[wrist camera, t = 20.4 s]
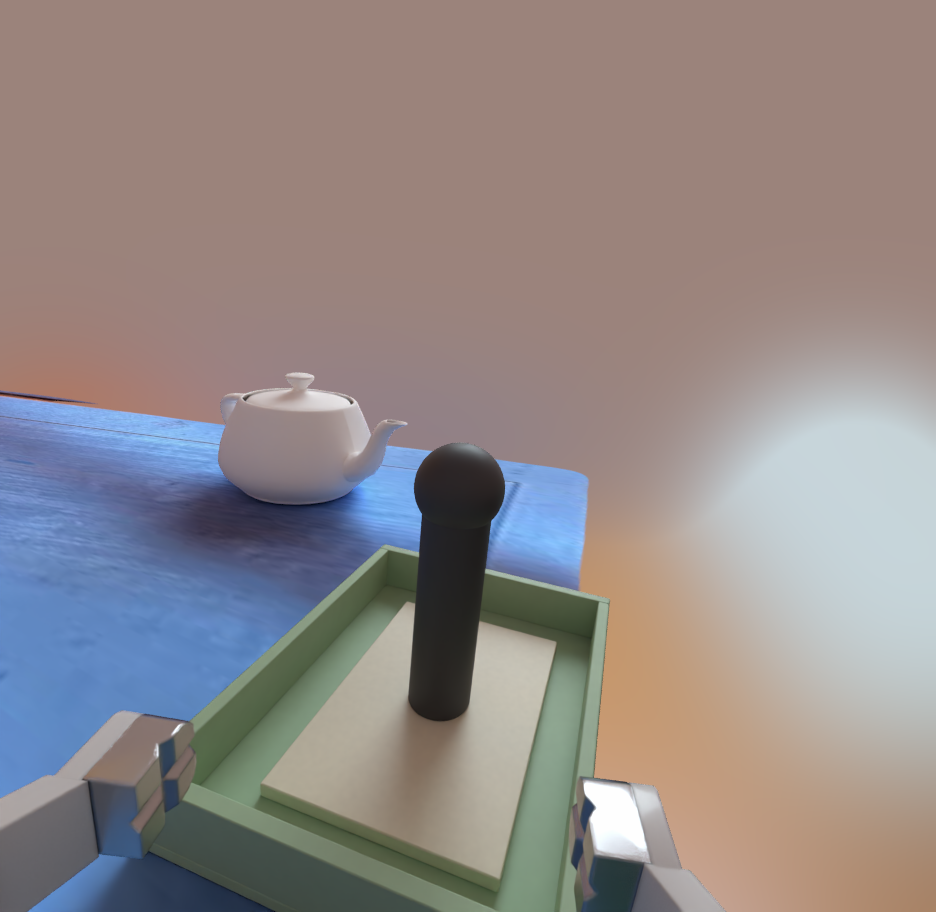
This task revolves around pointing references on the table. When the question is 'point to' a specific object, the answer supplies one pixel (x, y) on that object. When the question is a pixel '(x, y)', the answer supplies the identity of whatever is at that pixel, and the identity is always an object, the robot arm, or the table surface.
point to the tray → (346, 854)
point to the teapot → (298, 443)
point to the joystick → (431, 701)
